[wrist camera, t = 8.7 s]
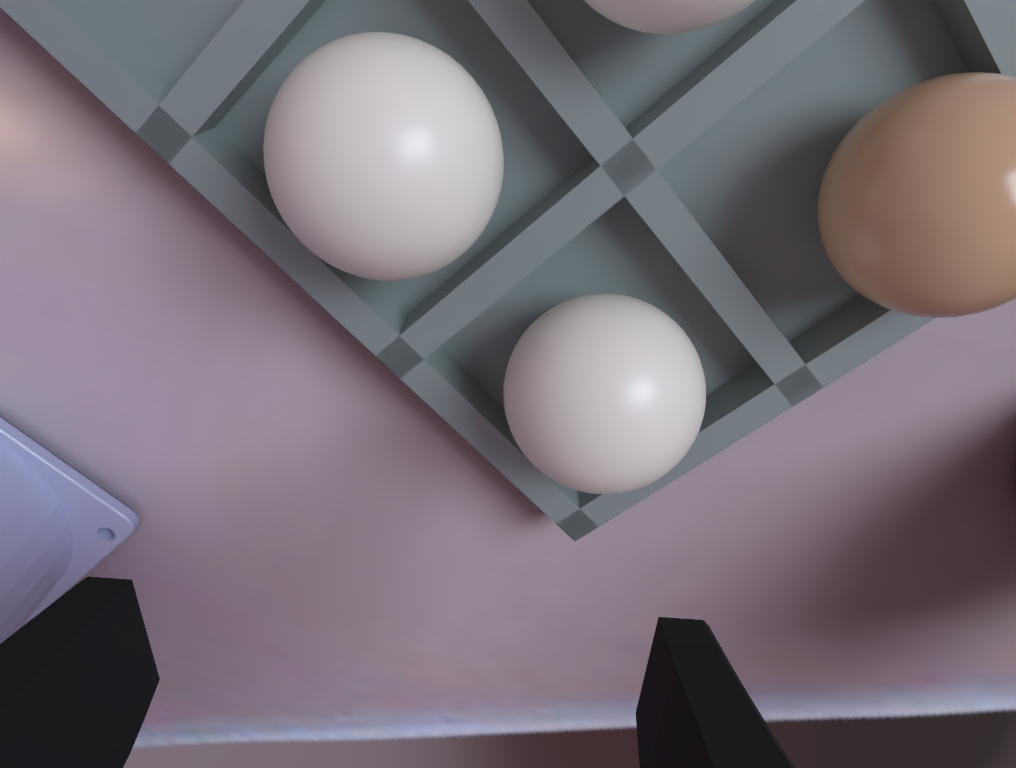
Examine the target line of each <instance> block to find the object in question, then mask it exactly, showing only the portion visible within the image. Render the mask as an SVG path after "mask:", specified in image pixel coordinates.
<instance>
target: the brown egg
mask: <svg viewBox="0 0 1016 768" xmlns="http://www.w3.org/2000/svg"><path fill="white" fill-rule="evenodd" d="M817 216H818V227H819V232H820V236H821V241H822V244H823V247H824V249H825V251H826V254H827V256H828V258H829V260H830V261H831V263H832V265H833V266H834V268H835V269H836V271H837V272H838V274H839V275H840V276H841V277H842V278H843V279H844V280H845V281H846V282H847V283H848V284H849V285H850V286H851V287H852V288H853V289H854V290H856V291H857V292H858V293H860V294H861V295H862V296H864V297H865V298H867V299H869V300H871V301H872V302H874V303H876V304H878V305H880V306H882V307H885V308H888V309H890V310H893V311H896V312H900V313H904V314H908V315H913V316H920V317H932V318H943V317H958V316H964V315H970V314H975V313H979V312H983V311H986V310H989V309H993V308H996V307H998V306H1001V305H1003V304H1005V303H1008V302H1010V301H1012V300H1014V299H1016V77H1013V76H1008V75H1004V74H996V73H984V72H968V73H956V74H950V75H945V76H940V77H935V78H932V79H929V80H926V81H923V82H920V83H917V84H914V85H911V86H909V87H907V88H905V89H903V90H901V91H899V92H897V93H895V94H894V95H892V96H890V97H888V98H887V99H885V100H884V101H882V102H881V103H879V104H878V105H877V106H875V107H874V108H872V109H871V110H870V111H869V112H867V113H866V114H865V115H864V116H863V117H862V118H861V119H860V120H859V121H858V122H857V123H856V124H855V125H854V126H853V127H852V128H851V129H850V130H849V131H848V133H847V134H846V135H845V136H844V138H843V139H842V140H841V142H840V143H839V145H838V146H837V148H836V150H835V151H834V153H833V155H832V157H831V159H830V161H829V163H828V165H827V168H826V170H825V172H824V175H823V179H822V182H821V186H820V190H819V196H818V210H817Z"/></svg>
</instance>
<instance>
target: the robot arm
mask: <svg viewBox="0 0 1016 768" xmlns="http://www.w3.org/2000/svg"><path fill="white" fill-rule="evenodd" d="M137 526H138V518H137V516H136V514H135V513H134V512H133V511H132V510H131V509H130V508H128V507H127V506H125V505H124V504H122V503H121V502H120V501H118V500H117V499H115V498H114V497H113V496H111V495H110V494H108V493H107V492H105V491H104V490H103V489H101V488H100V487H98V486H97V485H96V484H94V483H93V482H91V481H90V480H88V479H87V478H86V477H84V476H83V475H81V474H80V473H79V472H77V471H76V470H74V469H73V468H71V467H70V466H69V465H67V464H66V463H64V462H63V461H62V460H60V459H59V458H57V457H56V456H54V455H53V454H52V453H50V452H49V451H47V450H46V449H45V448H43V447H42V446H40V445H39V444H37V443H36V442H35V441H33V440H32V439H30V438H29V437H28V436H26V435H25V434H23V433H22V432H20V431H19V430H18V429H16V428H15V427H13V426H12V425H11V424H9V423H8V422H6V421H5V420H3V419H2V418H1V417H0V768H123V766H124V764H125V762H126V760H127V758H128V757H129V754H130V752H131V750H132V747H133V745H134V743H135V740H136V738H137V735H138V733H139V731H140V728H141V726H142V723H143V721H144V718H145V716H146V713H147V711H148V708H149V706H150V703H151V700H152V698H153V695H154V693H155V690H156V687H157V685H158V682H159V680H160V679H159V675H158V672H157V668H156V664H155V661H154V657H153V654H152V650H151V647H150V643H149V639H148V636H147V632H146V629H145V625H144V622H143V618H142V614H141V611H140V607H139V604H138V600H137V596H136V593H135V589H134V586H133V582H132V580H127V579H113V578H99V577H86V578H85V579H84V580H82V581H81V582H80V583H78V584H77V585H76V586H74V587H73V588H72V589H70V590H69V591H68V592H66V591H67V590H68V589H69V588H70V587H72V586H73V585H74V584H75V583H76V582H77V581H79V580H80V579H81V578H82V577H83V576H84V575H85V574H87V573H88V572H89V571H90V570H91V569H92V568H93V567H95V566H96V565H97V564H98V563H99V562H100V561H102V560H103V559H104V558H105V557H106V556H107V555H108V554H110V553H111V552H112V551H113V550H114V549H115V548H116V547H118V546H119V545H120V544H121V543H122V542H123V541H125V540H126V539H127V538H128V537H129V536H130V535H131V534H132V533H133V531H134V530H135V529H136V527H137ZM107 528H108V529H110V530H112V531H113V532H112V531H110V530H108V529H107ZM65 592H66V593H65ZM64 593H65V594H64ZM62 594H64V595H62ZM61 595H62V596H61ZM60 596H61V597H60ZM59 597H60V598H59ZM54 601H55V602H54ZM636 722H637V735H638V750H639V763H640V768H795V767H794V766H793V764H792V763H791V761H790V760H789V758H788V757H787V755H786V754H785V752H784V750H783V749H782V748H781V746H780V745H779V743H778V741H777V740H776V738H775V737H774V735H773V733H772V732H771V730H770V729H769V727H768V726H767V724H766V722H765V721H764V719H763V718H762V716H761V714H760V713H759V711H758V709H757V708H756V706H755V704H754V703H753V701H752V700H751V698H750V696H749V695H748V693H747V691H746V690H745V688H744V686H743V685H742V683H741V681H740V680H739V678H738V676H737V674H736V673H735V671H734V669H733V668H732V666H731V664H730V662H729V661H728V659H727V657H726V655H725V654H724V652H723V650H722V648H721V647H720V645H719V643H718V641H717V640H716V638H715V636H714V634H713V632H712V630H711V629H710V627H709V626H708V625H707V624H706V622H705V621H704V620H694V619H679V618H665V617H659V618H658V622H657V626H656V631H655V635H654V639H653V643H652V647H651V651H650V656H649V660H648V664H647V668H646V672H645V677H644V681H643V685H642V689H641V693H640V698H639V702H638V706H637V710H636Z"/></svg>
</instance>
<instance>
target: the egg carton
mask: <svg viewBox="0 0 1016 768" xmlns="http://www.w3.org/2000/svg"><path fill="white" fill-rule="evenodd" d="M0 8H1V9H3V10H4V11H5V12H6V13H7V14H8V15H9V16H10V17H11V18H12V19H13V20H14V21H15V22H17V23H18V24H19V25H20V26H21V27H22V28H23V29H24V30H25V31H26V32H27V33H28V34H29V35H31V36H32V37H33V38H34V39H35V40H36V41H37V42H38V43H39V44H40V45H41V46H42V47H43V48H45V49H46V50H47V51H48V52H49V53H50V54H51V55H52V56H53V57H54V58H55V59H56V60H57V61H59V62H60V63H61V64H62V65H63V66H64V67H65V68H66V69H67V70H68V71H69V72H70V73H71V74H72V75H74V76H75V77H76V78H77V79H78V80H79V81H80V82H81V83H82V84H83V85H84V86H85V87H86V88H88V89H89V90H90V91H91V92H92V93H93V94H94V95H95V96H96V97H97V98H98V99H99V100H100V101H102V102H103V103H104V104H105V105H106V106H107V107H108V108H109V109H110V110H111V111H112V112H113V113H114V114H116V115H117V116H118V117H119V118H120V119H121V120H122V121H123V122H124V123H125V124H126V125H127V126H128V127H130V128H131V129H132V130H133V131H134V132H135V133H136V134H137V135H138V136H139V137H140V138H141V139H142V140H144V141H145V142H146V143H147V144H148V145H149V146H150V147H151V148H152V149H153V150H154V151H155V152H156V153H158V154H159V155H160V156H161V157H162V158H163V159H164V160H165V161H166V162H167V163H168V164H169V165H170V166H172V167H173V168H174V169H175V170H176V171H177V172H178V173H179V174H180V175H181V176H182V177H183V178H184V179H186V180H187V181H188V182H189V183H190V184H191V185H192V186H193V187H194V188H195V189H196V190H197V191H198V192H199V193H201V194H202V195H203V196H204V197H205V198H206V199H207V200H208V201H209V202H210V203H211V204H212V205H213V206H215V207H216V208H217V209H218V210H219V211H220V212H221V213H222V214H223V215H224V216H225V217H226V218H227V219H229V220H230V221H231V222H232V223H233V224H234V225H235V226H236V227H237V228H238V229H239V230H240V231H241V232H243V233H244V234H245V235H246V236H247V237H248V238H249V239H250V240H251V241H252V242H253V243H254V244H255V245H257V246H258V247H259V248H260V249H261V250H262V251H263V252H264V253H265V254H266V255H267V256H268V257H269V258H271V259H272V260H273V261H274V262H275V263H276V264H277V265H278V266H279V267H280V268H281V269H282V270H283V271H285V272H286V273H287V274H288V275H289V276H290V277H291V278H292V279H293V280H294V281H295V282H296V283H297V284H299V285H300V286H301V287H302V288H303V289H304V290H305V291H306V292H307V293H308V294H309V295H310V296H311V297H312V298H314V299H315V300H316V301H317V302H318V303H319V304H320V305H321V306H322V307H323V308H324V309H325V310H326V311H328V312H329V313H330V314H331V315H332V316H333V317H334V318H335V319H336V320H337V321H338V322H339V323H340V324H342V325H343V326H344V327H345V328H346V329H347V330H348V331H349V332H350V333H351V334H352V335H353V336H354V337H356V338H357V339H358V340H359V341H360V342H361V343H362V344H363V345H364V346H365V347H366V348H367V349H368V350H370V351H371V352H372V353H373V354H374V355H375V356H376V357H377V358H378V359H379V360H380V361H381V362H382V363H384V364H385V365H386V366H387V367H388V368H389V369H390V370H391V371H392V372H393V373H394V374H395V375H396V376H398V377H399V378H400V379H401V380H402V381H403V382H404V383H405V384H406V385H407V386H408V387H409V388H410V389H412V390H413V391H414V392H415V393H416V394H417V395H418V396H419V397H420V398H421V399H422V400H423V401H424V402H425V403H427V404H428V405H429V406H430V407H431V408H432V409H433V410H434V411H435V412H436V413H437V414H438V415H439V416H441V417H442V418H443V419H444V420H445V421H446V422H447V423H448V424H449V425H450V426H451V427H452V428H453V429H455V430H456V431H457V432H458V433H459V434H460V435H461V436H462V437H463V438H464V439H465V440H466V441H467V442H469V443H470V444H471V445H472V446H473V447H474V448H475V449H476V450H477V451H478V452H479V453H480V454H481V455H483V456H484V457H485V458H486V459H487V460H488V461H489V462H490V463H491V464H492V465H493V466H494V467H495V468H497V469H498V470H499V471H500V472H501V473H502V474H503V475H504V476H505V477H506V478H507V479H508V480H509V481H511V482H512V483H513V484H514V485H515V486H516V487H517V488H518V489H519V490H520V491H521V492H522V493H523V494H525V495H526V496H527V497H528V498H529V499H530V500H531V501H532V502H533V503H534V504H535V505H536V506H537V507H539V508H540V509H541V510H542V511H543V512H544V513H545V514H546V515H547V516H548V517H549V518H550V519H551V520H552V521H554V522H555V523H556V524H557V525H558V526H559V527H560V528H561V529H562V530H563V531H564V532H565V533H566V534H568V535H569V536H570V537H571V538H572V539H573V540H574V541H576V540H578V539H580V538H581V537H583V536H585V535H586V534H588V533H589V532H591V531H593V530H594V529H596V528H597V527H599V526H601V525H602V524H604V523H606V522H607V521H609V520H610V519H612V518H614V517H615V516H617V515H618V514H620V513H622V512H623V511H625V510H626V509H628V508H630V507H631V506H633V505H635V504H636V503H638V502H639V501H641V500H643V499H644V498H646V497H647V496H649V495H651V494H652V493H654V492H656V491H657V490H659V489H660V488H662V487H664V486H665V485H667V484H668V483H670V482H672V481H673V480H675V479H677V478H678V477H680V476H681V475H683V474H685V473H686V472H688V471H689V470H691V469H693V468H694V467H696V466H697V465H699V464H701V463H702V462H704V461H706V460H707V459H709V458H710V457H712V456H714V455H715V454H717V453H718V452H720V451H722V450H723V449H725V448H727V447H728V446H730V445H731V444H733V443H735V442H736V441H738V440H739V439H741V438H743V437H744V436H746V435H748V434H749V433H751V432H752V431H754V430H756V429H757V428H759V427H760V426H762V425H764V424H765V423H767V422H769V421H770V420H772V419H773V418H775V417H777V416H778V415H780V414H781V413H783V412H785V411H786V410H788V409H789V408H791V407H793V406H794V405H796V404H798V403H799V402H801V401H802V400H804V399H806V398H807V397H809V396H810V395H812V394H814V393H815V392H817V391H819V390H820V389H822V388H823V387H825V386H827V385H828V384H830V383H831V382H833V381H835V380H836V379H838V378H840V377H841V376H843V375H844V374H846V373H848V372H849V371H851V370H852V369H854V368H856V367H857V366H859V365H860V364H862V363H864V362H865V361H867V360H869V359H870V358H872V357H873V356H875V355H877V354H878V353H880V352H881V351H883V350H885V349H886V348H888V347H890V346H891V345H893V344H894V343H896V342H898V341H899V340H901V339H902V338H904V337H906V336H907V335H909V334H911V333H912V332H914V331H915V330H917V329H919V328H920V327H922V326H923V325H925V324H927V323H928V322H930V321H932V320H933V319H935V318H932V317H920V316H913V315H908V314H904V313H900V312H896V311H893V310H890V309H888V308H885V307H882V306H880V305H878V304H876V303H874V302H872V301H871V300H869V299H867V298H865V297H864V296H862V295H861V294H860V293H858V292H857V291H856V290H854V289H853V288H852V287H851V286H850V285H849V284H848V283H847V282H846V281H845V280H844V279H843V278H842V277H841V276H840V275H839V274H838V272H837V271H836V269H835V268H834V266H833V265H832V263H831V261H830V260H829V258H828V256H827V254H826V251H825V249H824V247H823V244H822V241H821V236H820V232H819V227H818V216H817V210H818V196H819V190H820V186H821V182H822V179H823V175H824V172H825V170H826V168H827V165H828V163H829V161H830V159H831V157H832V155H833V153H834V151H835V150H836V148H837V146H838V145H839V143H840V142H841V140H842V139H843V138H844V136H845V135H846V134H847V133H848V131H849V130H850V129H851V128H852V127H853V126H854V125H855V124H856V123H857V122H858V121H859V120H860V119H861V118H862V117H863V116H864V115H865V114H866V113H867V112H869V111H870V110H871V109H872V108H874V107H875V106H877V105H878V104H879V103H881V102H882V101H884V100H885V99H887V98H888V97H890V96H892V95H894V94H895V93H897V92H899V91H901V90H903V89H905V88H907V87H909V86H911V85H914V84H917V83H920V82H923V81H926V80H929V79H932V78H935V77H940V76H945V75H950V74H956V73H968V72H984V73H996V74H1004V75H1008V76H1013V77H1016V0H0Z"/></svg>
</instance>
